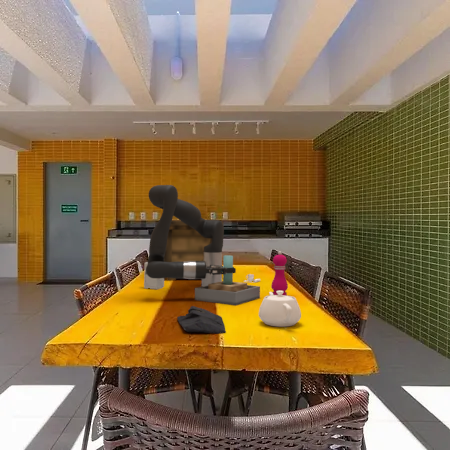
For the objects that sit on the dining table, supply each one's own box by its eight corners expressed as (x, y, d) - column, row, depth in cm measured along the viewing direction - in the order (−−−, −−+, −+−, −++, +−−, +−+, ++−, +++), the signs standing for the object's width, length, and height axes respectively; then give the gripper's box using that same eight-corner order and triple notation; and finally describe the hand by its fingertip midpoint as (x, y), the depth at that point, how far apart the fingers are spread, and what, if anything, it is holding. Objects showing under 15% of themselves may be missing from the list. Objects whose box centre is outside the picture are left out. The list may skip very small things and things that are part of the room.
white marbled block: (143, 288, 213) (143, 262, 213) (151, 286, 220) (151, 261, 220) (156, 289, 210) (157, 263, 210) (164, 287, 217) (164, 261, 217)
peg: (221, 288, 187) (221, 255, 187) (226, 287, 190) (226, 255, 190) (229, 289, 185) (229, 256, 184) (234, 288, 188) (234, 255, 188)
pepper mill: (289, 295, 197) (290, 250, 197) (284, 298, 191) (285, 251, 190) (274, 294, 200) (274, 250, 200) (269, 296, 194) (269, 251, 193)
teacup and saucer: (262, 282, 241) (262, 274, 241) (253, 283, 236) (253, 276, 236) (250, 280, 248) (250, 273, 247) (240, 282, 242) (240, 274, 242)
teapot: (311, 330, 135) (311, 295, 135) (267, 332, 133) (268, 296, 133) (288, 315, 157) (288, 285, 157) (250, 316, 154) (251, 285, 154)
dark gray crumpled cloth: (176, 336, 129) (176, 320, 129) (177, 319, 151) (177, 305, 151) (228, 335, 130) (228, 319, 130) (222, 318, 152) (222, 305, 152)
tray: (194, 299, 185) (194, 287, 184) (221, 293, 201) (221, 282, 201) (235, 305, 174) (235, 292, 174) (259, 298, 191) (259, 286, 190)
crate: (222, 281, 242) (223, 221, 241) (158, 281, 238) (158, 220, 238) (217, 273, 277) (217, 221, 276) (160, 273, 273) (161, 220, 272)
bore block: (208, 297, 186) (208, 284, 186) (223, 293, 196) (223, 280, 196) (232, 300, 179) (232, 286, 179) (247, 296, 189) (247, 283, 189)
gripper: (195, 262, 178) (237, 262, 181) (193, 259, 193) (232, 259, 195) (195, 281, 179) (237, 281, 181) (193, 276, 193) (232, 276, 195)
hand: (234, 269), depth 188 cm, fingers closed on peg, 4 cm apart
